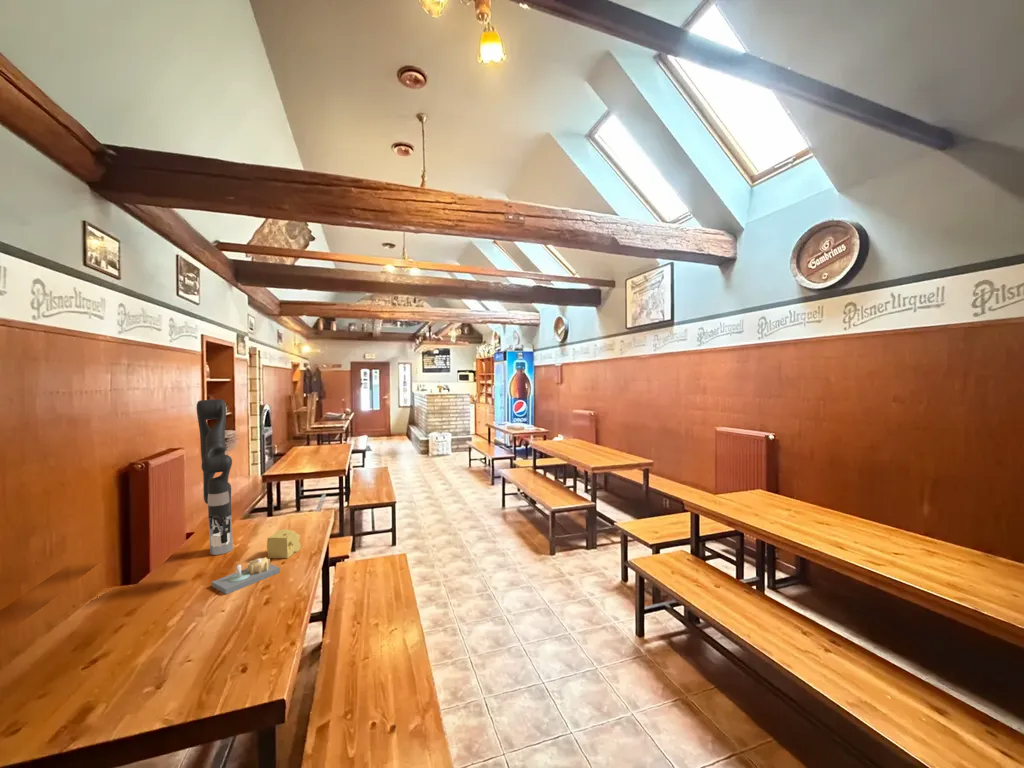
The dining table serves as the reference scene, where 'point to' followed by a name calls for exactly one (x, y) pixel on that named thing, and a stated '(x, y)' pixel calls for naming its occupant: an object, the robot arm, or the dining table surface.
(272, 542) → the cheese
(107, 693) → the dining table surface
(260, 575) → the gear board
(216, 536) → the nylon gear
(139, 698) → the dining table surface
